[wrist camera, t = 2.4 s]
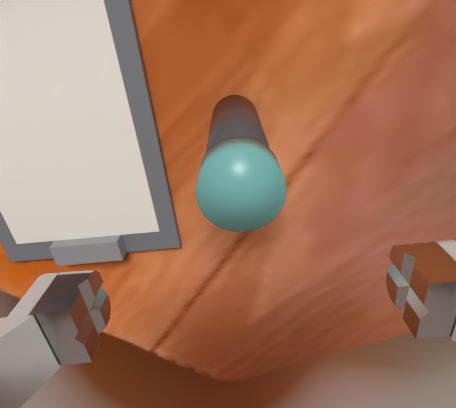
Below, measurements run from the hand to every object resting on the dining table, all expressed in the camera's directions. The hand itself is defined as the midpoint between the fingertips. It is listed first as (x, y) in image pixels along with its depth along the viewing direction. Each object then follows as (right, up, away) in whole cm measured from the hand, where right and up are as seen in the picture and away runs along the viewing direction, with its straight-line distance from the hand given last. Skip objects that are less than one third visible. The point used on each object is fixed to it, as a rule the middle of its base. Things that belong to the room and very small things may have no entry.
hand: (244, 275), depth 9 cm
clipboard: (-14, +7, +16) cm, 22 cm away
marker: (0, +8, +15) cm, 18 cm away
